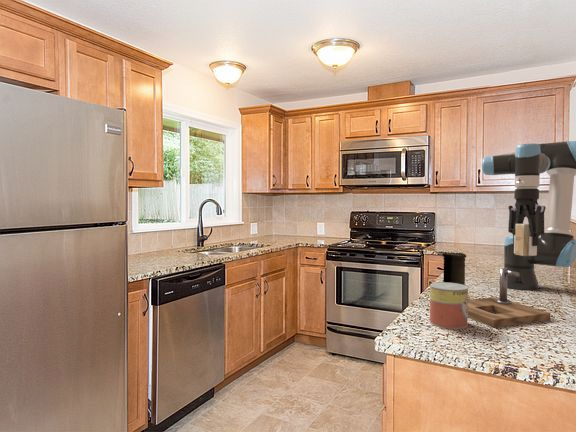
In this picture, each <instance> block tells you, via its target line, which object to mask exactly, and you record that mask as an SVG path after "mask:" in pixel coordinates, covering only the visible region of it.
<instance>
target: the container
mask: <svg viewBox="0 0 576 432" xmlns="http://www.w3.org/2000/svg"><path fill="white" fill-rule="evenodd" d="M442 257H443V279H442V282H449V283H458V284H463V285H466V282H465V281H466V277H465V276H466V258H467V254H466V253H463V252H443V253H442Z"/></svg>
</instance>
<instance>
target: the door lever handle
mask: <svg viewBox="0 0 576 432" xmlns="http://www.w3.org/2000/svg"><path fill="white" fill-rule="evenodd" d="M508 275H511V276H516V277H519V276H520V273H519V272H515V271H510V270H508V269H504V267H503V268H502V267H501V268H499V281H500V284H499V298H500V299H496V300H495V302H496V303H499V304H511V301H512V300H509V299H508V288H507V280H508Z"/></svg>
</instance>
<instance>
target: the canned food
mask: <svg viewBox="0 0 576 432" xmlns="http://www.w3.org/2000/svg"><path fill="white" fill-rule="evenodd" d="M429 288H430V289H429V323H430V324H431V325H432V326H434V327H438V328H441V329H448V330H461V329H465V328H468V326H469V323H468V319H469V318H468V300H469V298H468V297H469V287H468V285H466V284H465V285H463V284H458V283H449V282H443V281H442V282H439V281H438V282H437V281H436V282H432V283H430V284H429Z"/></svg>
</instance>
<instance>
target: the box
mask: <svg viewBox="0 0 576 432" xmlns="http://www.w3.org/2000/svg"><path fill="white" fill-rule="evenodd" d="M530 235H531V232H530V227H529V223H523V224H516V229H515V254H516V255H521V256H530V255H529V236H530ZM532 256H535V255H532Z"/></svg>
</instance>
